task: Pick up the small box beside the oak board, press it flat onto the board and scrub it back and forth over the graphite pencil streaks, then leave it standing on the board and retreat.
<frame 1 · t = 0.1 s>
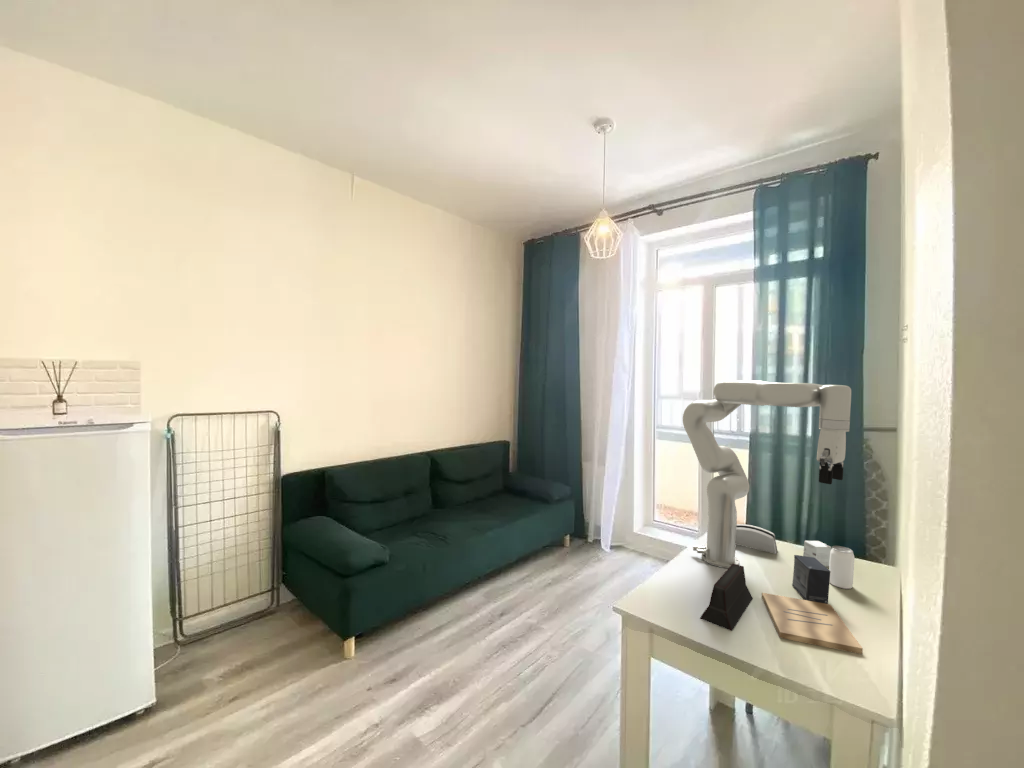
hand: (830, 481, 134), 37 cm above the table, tool pointing down, fingers open, 9 cm apart
white arched block: (752, 548, 176), on the table
small box: (809, 595, 138), on the table
board: (806, 622, 122), on the table
can: (840, 585, 146), on the table
skincare box: (816, 563, 163), on the table
barrier: (727, 609, 129), on the table
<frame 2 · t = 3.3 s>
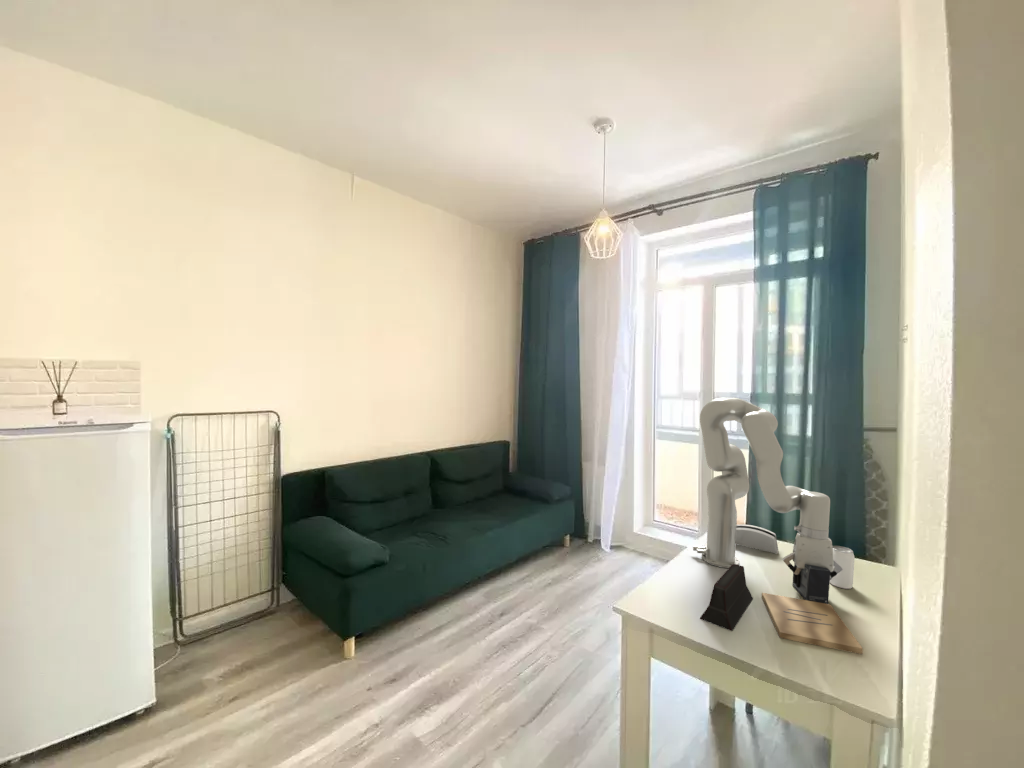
hand: (810, 587, 138), 2 cm above the table, tool pointing down, fingers closed on small box, 6 cm apart
small box: (810, 595, 138), on the table, touching gripper
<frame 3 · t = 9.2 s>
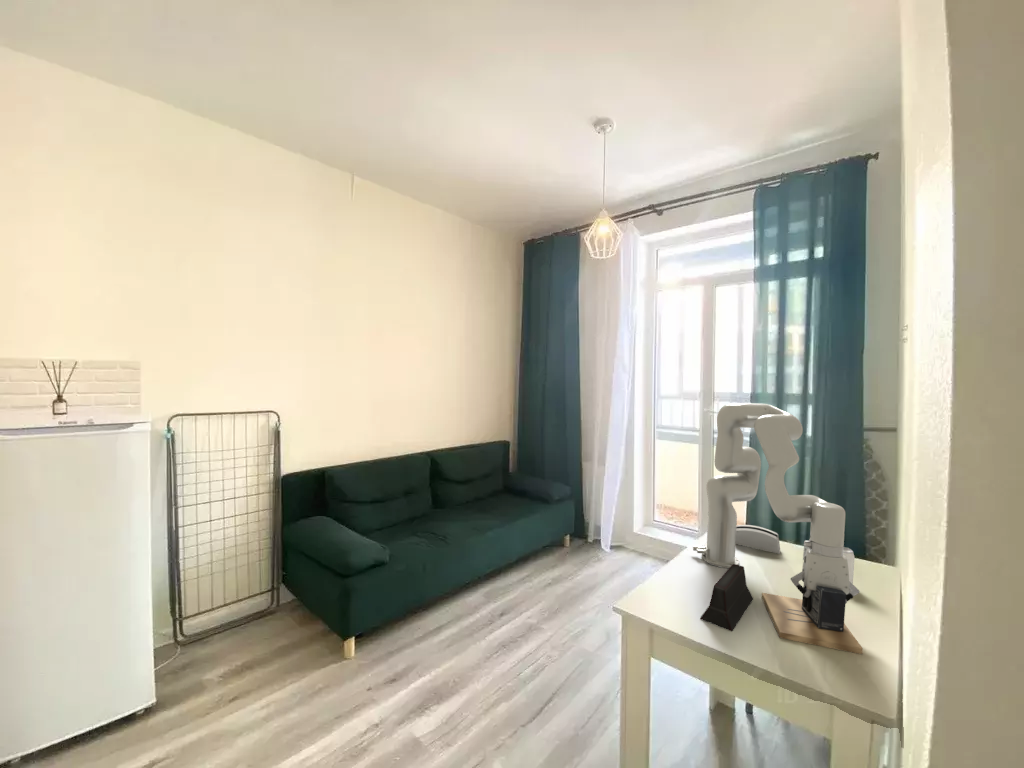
hand: (822, 611, 121), 4 cm above the table, tool pointing down, fingers closed on small box, 6 cm apart
small box: (822, 620, 121), point 1 cm above the table, touching gripper
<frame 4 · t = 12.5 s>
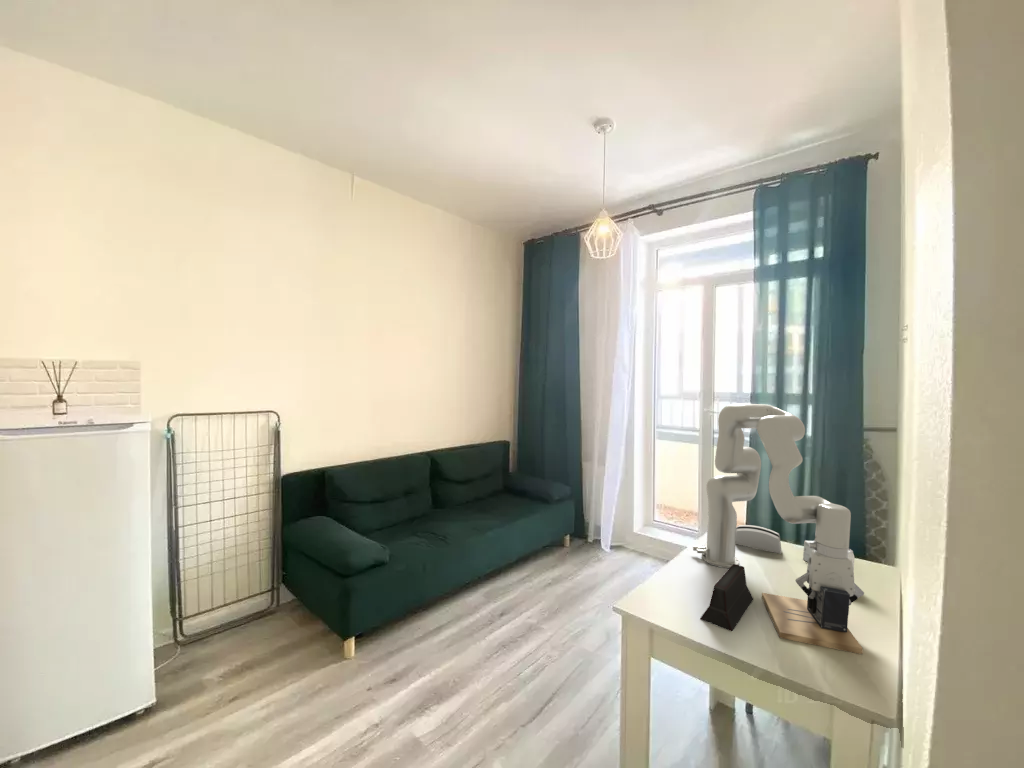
hand: (827, 613, 121), 4 cm above the table, tool pointing down, fingers closed on small box, 6 cm apart
small box: (826, 621, 121), point 1 cm above the table, touching gripper
when the fingers open (4 cm above the table, at t = 15.3 s): small box stays where it is, resting on board.
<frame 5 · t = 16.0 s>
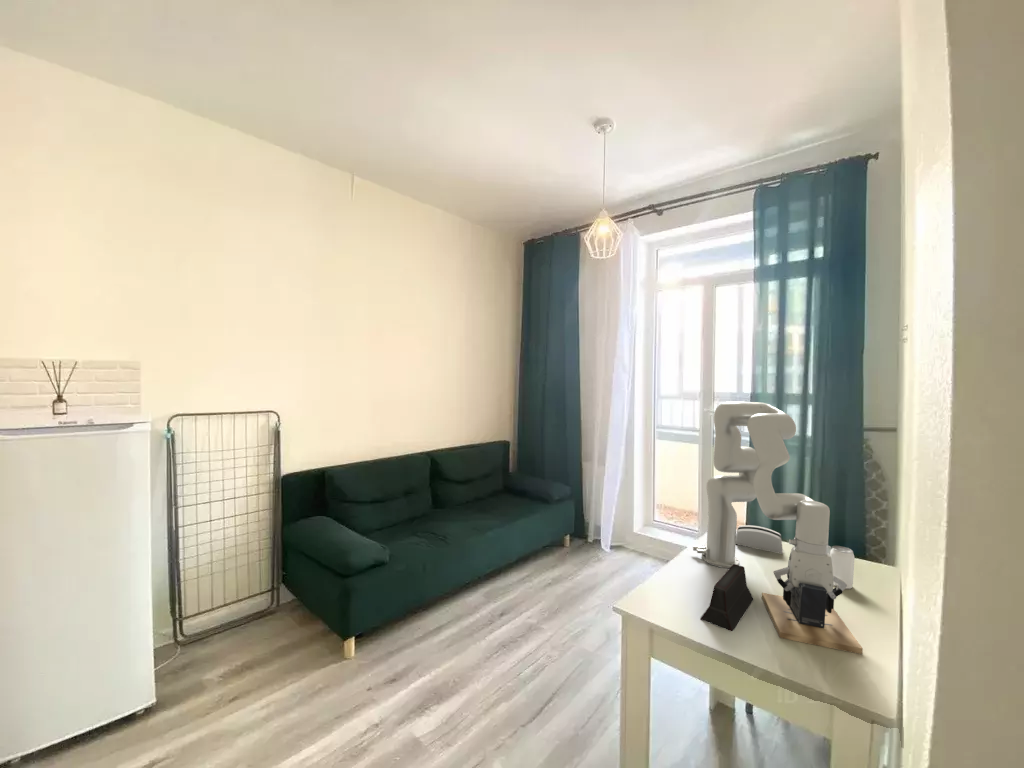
hand: (807, 606, 122), 4 cm above the table, tool pointing down, fingers open, 9 cm apart
small box: (806, 617, 123), point 1 cm above the table, touching board
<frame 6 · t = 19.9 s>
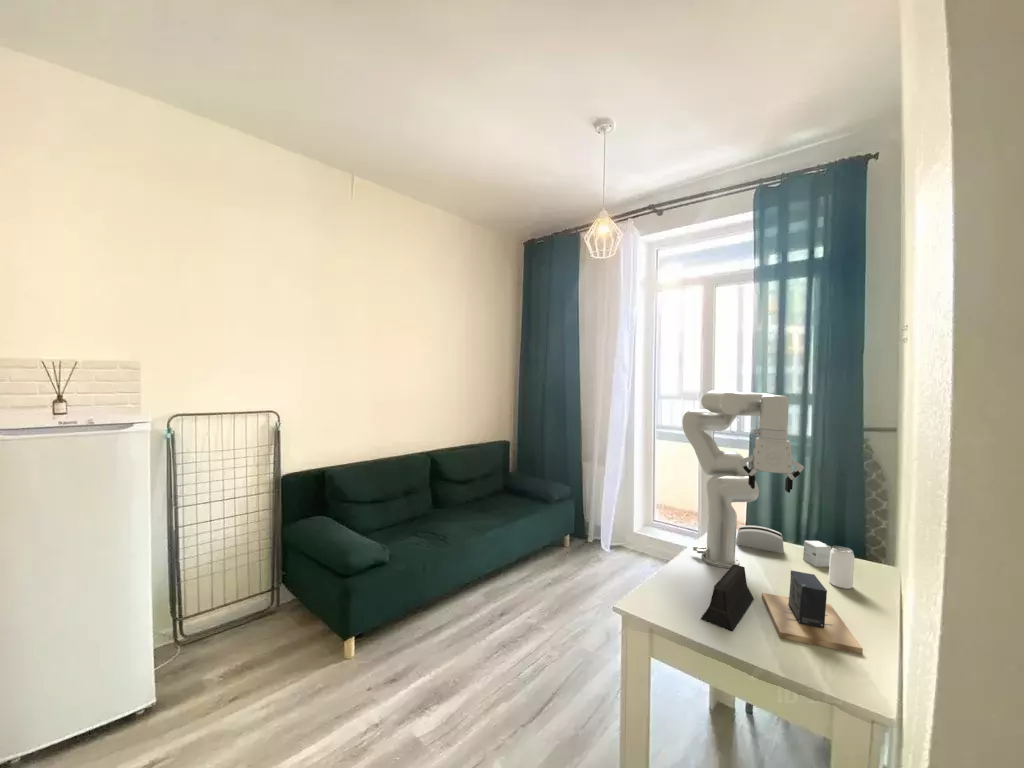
hand: (769, 489, 136), 33 cm above the table, tool pointing down, fingers open, 9 cm apart
at the end: small box inside the target area on the board (0.4 cm from its centre), point 1.4 cm above the board's base; small box tilted 0°; the gripper is holding nothing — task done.
